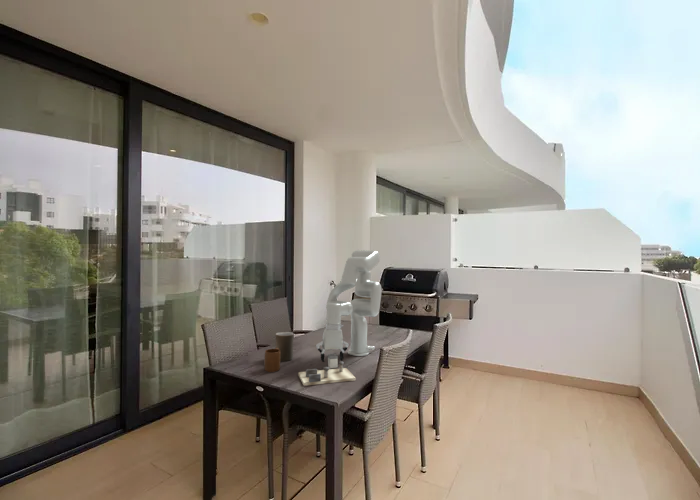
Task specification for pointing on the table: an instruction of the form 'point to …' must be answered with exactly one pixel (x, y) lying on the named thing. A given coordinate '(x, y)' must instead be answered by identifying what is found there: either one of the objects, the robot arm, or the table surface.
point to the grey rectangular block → (332, 360)
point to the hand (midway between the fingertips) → (332, 360)
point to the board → (331, 377)
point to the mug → (272, 360)
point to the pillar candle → (285, 345)
